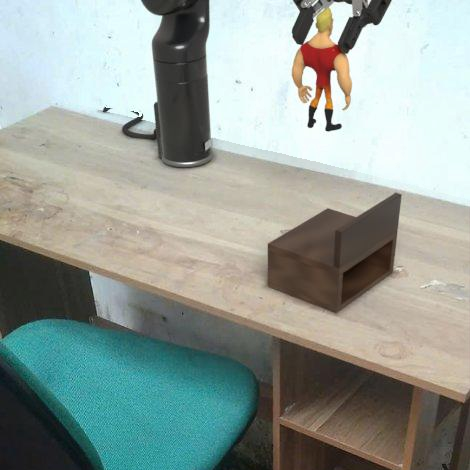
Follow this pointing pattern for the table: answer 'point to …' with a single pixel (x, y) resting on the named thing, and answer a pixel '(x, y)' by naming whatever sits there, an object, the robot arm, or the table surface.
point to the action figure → (322, 69)
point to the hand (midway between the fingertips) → (319, 45)
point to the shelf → (336, 255)
